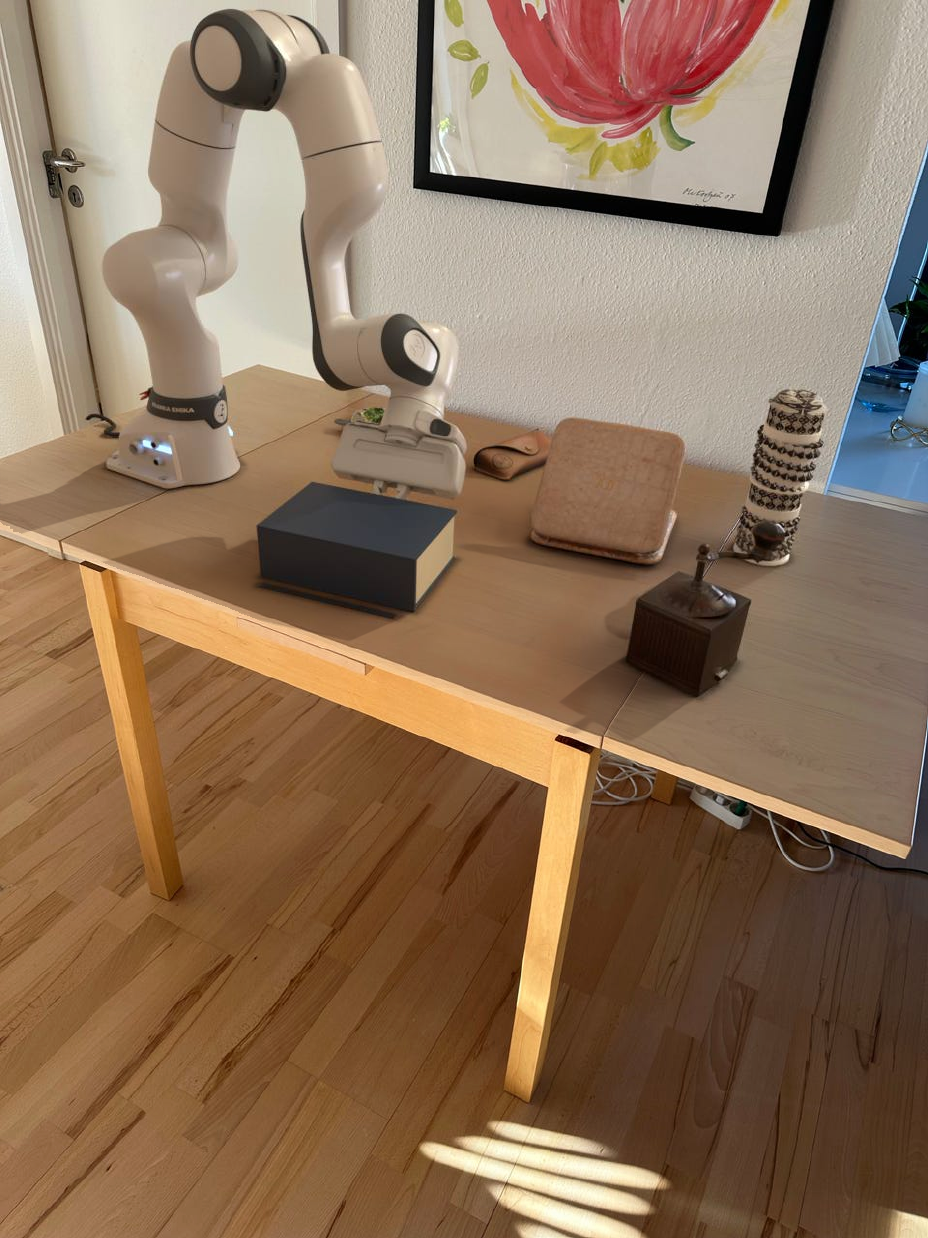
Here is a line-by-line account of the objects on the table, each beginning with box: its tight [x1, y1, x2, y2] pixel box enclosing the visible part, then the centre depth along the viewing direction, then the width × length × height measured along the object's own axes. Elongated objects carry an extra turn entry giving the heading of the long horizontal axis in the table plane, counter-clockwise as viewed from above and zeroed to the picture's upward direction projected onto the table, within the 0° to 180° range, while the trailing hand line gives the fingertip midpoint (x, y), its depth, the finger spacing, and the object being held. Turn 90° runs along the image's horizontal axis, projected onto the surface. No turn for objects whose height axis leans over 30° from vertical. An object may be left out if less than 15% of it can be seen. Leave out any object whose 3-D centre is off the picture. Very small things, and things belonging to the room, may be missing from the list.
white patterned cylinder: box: [732, 388, 829, 567], centre depth 132 cm, size 9×9×25 cm
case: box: [529, 417, 687, 566], centre depth 139 cm, size 20×21×16 cm
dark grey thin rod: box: [258, 582, 397, 619], centre depth 121 cm, size 20×1×1 cm, turn 70°
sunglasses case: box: [472, 427, 552, 481], centre depth 164 cm, size 18×7×7 cm, turn 139°
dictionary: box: [256, 481, 458, 613], centre depth 127 cm, size 23×16×8 cm
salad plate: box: [333, 406, 385, 428], centre depth 174 cm, size 19×18×5 cm
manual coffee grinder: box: [625, 521, 785, 697], centre depth 109 cm, size 16×11×18 cm
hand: (384, 513), depth 133 cm, fingers closed, pressing on dictionary
